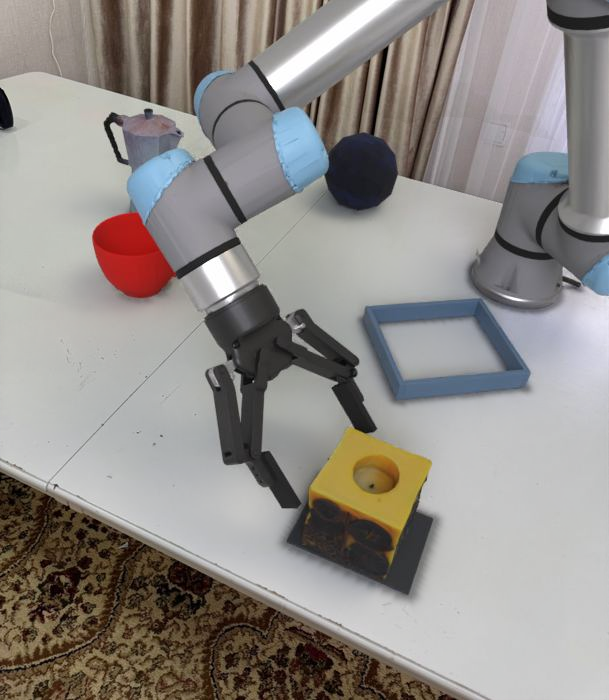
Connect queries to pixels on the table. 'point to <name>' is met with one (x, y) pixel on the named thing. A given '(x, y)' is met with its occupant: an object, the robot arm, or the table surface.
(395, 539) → the candle
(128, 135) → the moka pot
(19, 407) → the table surface
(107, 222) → the ceramic cup
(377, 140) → the decorative orb
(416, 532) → the mat
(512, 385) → the blue open square frame
